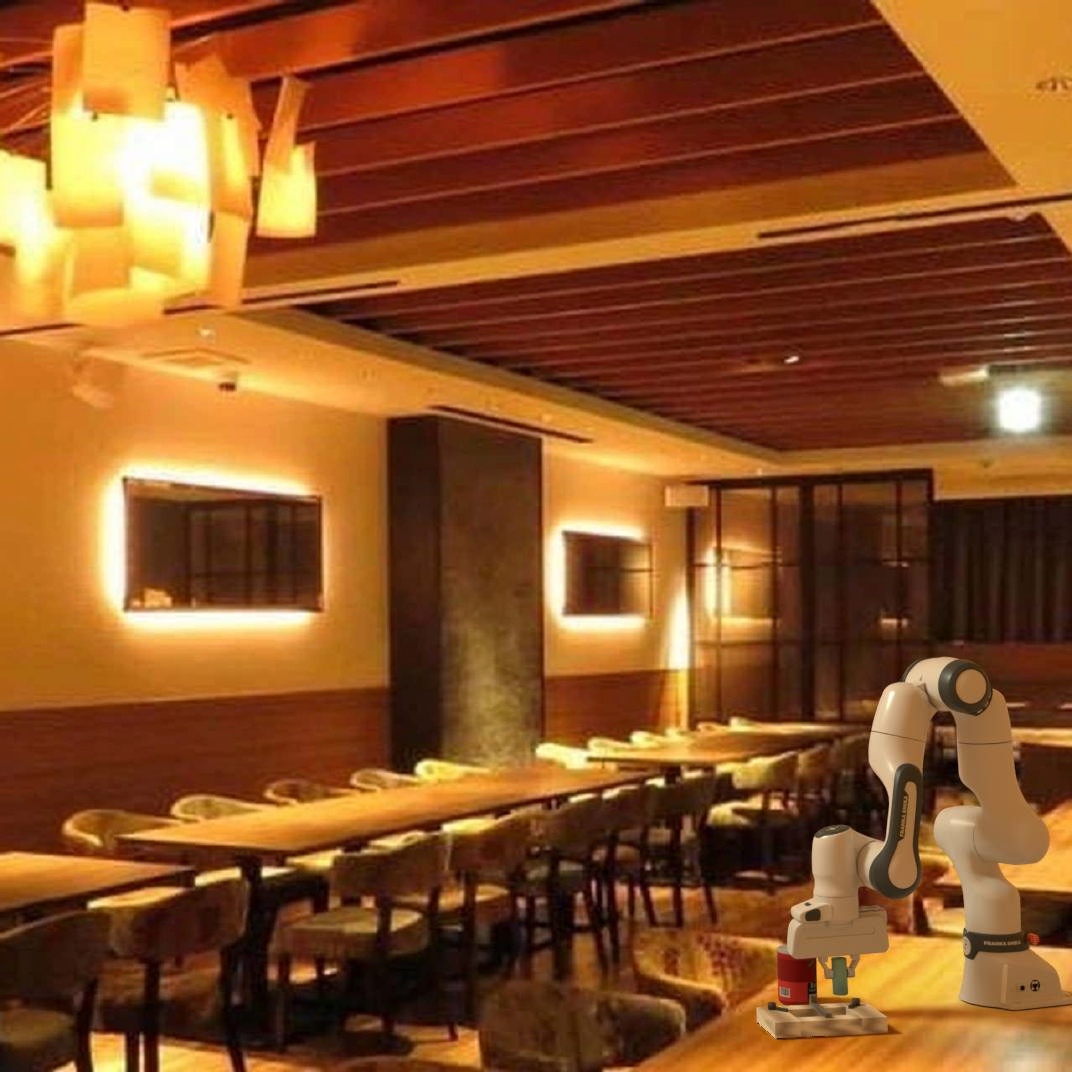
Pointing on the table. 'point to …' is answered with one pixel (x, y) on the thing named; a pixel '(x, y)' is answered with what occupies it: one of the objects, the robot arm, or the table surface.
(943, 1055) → the table surface
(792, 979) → the canned food
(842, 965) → the pale green rounded block
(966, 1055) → the table surface
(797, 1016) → the shelf
